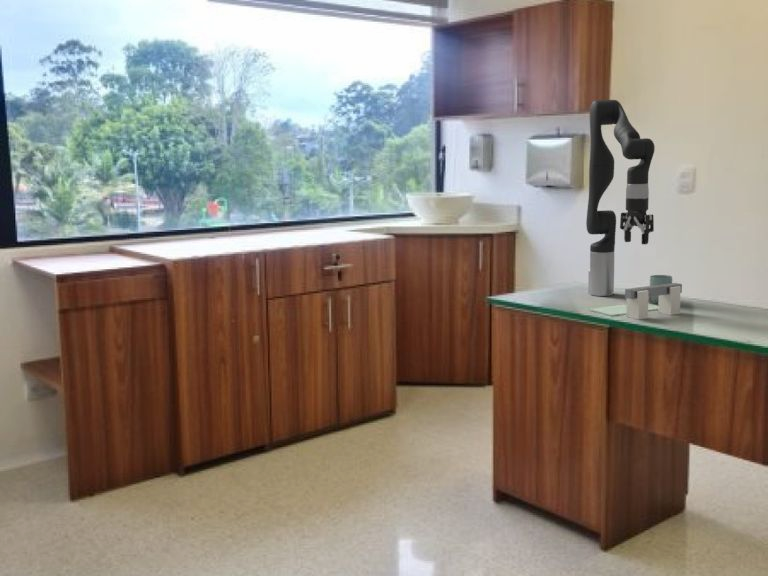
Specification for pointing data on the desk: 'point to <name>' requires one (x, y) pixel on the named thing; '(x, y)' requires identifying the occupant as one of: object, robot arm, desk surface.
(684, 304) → the desk surface
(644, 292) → the rack
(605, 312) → the mat
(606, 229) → the robot arm
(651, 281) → the cup
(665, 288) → the bar
